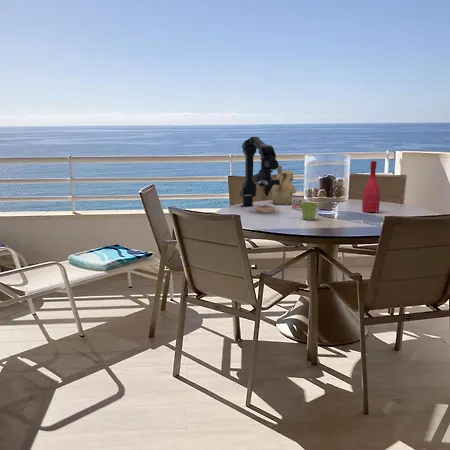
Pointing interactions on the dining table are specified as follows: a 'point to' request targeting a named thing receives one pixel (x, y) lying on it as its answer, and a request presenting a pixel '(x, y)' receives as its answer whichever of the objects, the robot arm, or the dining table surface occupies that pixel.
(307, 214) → the plant pot
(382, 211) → the dining table surface
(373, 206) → the wine bottle
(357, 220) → the dining table surface
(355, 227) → the dining table surface
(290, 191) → the ceramic vessel
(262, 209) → the open square box
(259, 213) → the slate board
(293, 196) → the teacup with lid
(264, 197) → the beveled wooden wedge block
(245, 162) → the robot arm
